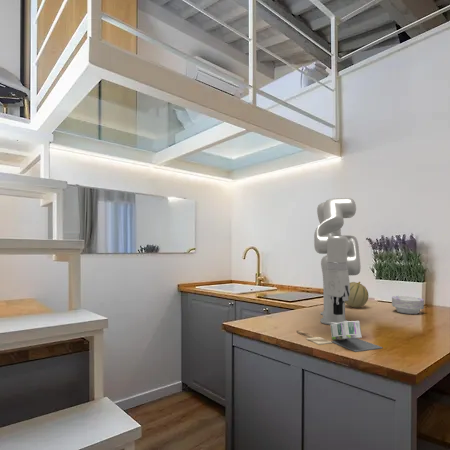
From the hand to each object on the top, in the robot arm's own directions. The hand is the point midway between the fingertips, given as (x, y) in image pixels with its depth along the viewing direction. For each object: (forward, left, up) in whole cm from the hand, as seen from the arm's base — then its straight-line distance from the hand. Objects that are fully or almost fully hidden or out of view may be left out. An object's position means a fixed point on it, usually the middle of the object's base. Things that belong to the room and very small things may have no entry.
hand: (338, 314), depth 134 cm
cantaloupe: (-51, +53, -10) cm, 74 cm away
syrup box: (+1, -1, -7) cm, 7 cm away
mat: (+9, 0, -9) cm, 13 cm away
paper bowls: (-29, +69, -10) cm, 75 cm away
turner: (-5, -9, -9) cm, 14 cm away
